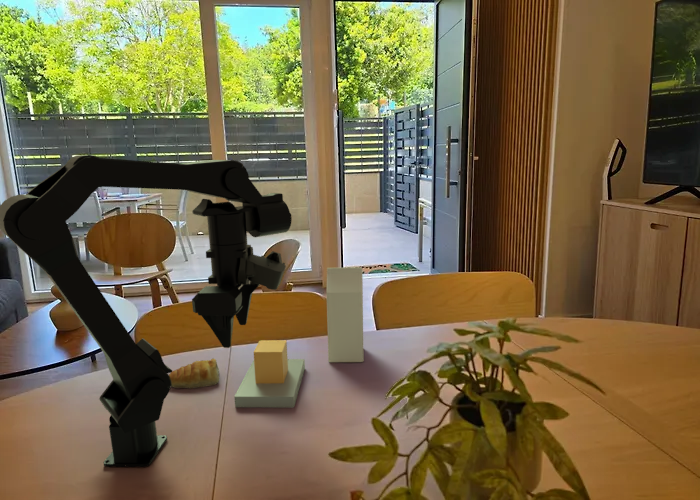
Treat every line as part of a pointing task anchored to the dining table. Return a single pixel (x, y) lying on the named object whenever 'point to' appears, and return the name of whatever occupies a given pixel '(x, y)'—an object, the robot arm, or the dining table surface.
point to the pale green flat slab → (271, 388)
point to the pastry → (196, 374)
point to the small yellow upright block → (271, 361)
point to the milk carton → (345, 314)
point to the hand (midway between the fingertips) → (235, 335)
